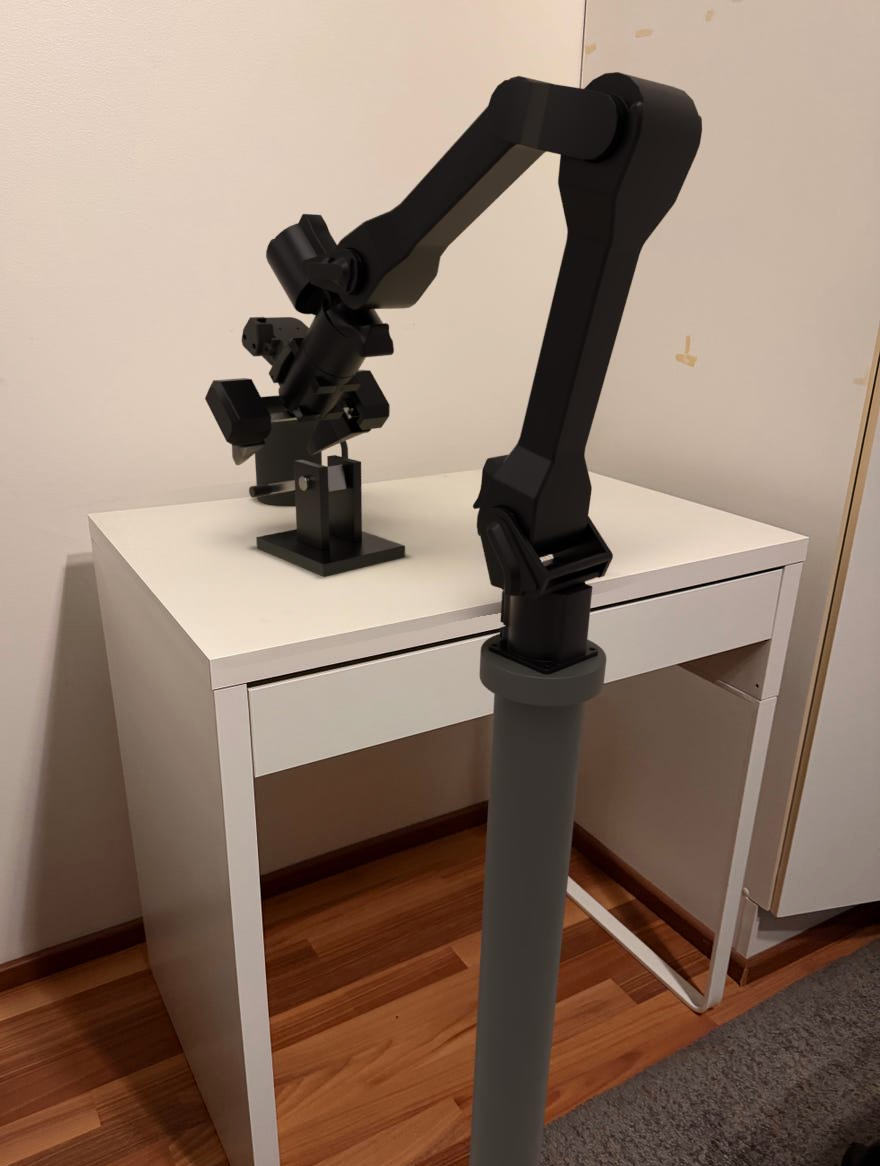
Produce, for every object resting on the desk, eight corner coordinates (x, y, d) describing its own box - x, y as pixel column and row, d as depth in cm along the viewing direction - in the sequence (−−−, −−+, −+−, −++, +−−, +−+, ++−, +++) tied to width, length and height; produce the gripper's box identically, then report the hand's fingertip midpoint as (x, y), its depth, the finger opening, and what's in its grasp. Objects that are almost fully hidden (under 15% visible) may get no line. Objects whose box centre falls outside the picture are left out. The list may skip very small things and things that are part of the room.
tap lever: (251, 503, 93) (246, 481, 93) (290, 497, 96) (286, 475, 96) (317, 494, 83) (312, 468, 83) (358, 486, 86) (354, 462, 86)
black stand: (256, 548, 90) (251, 457, 86) (335, 531, 96) (333, 446, 92) (323, 576, 81) (320, 478, 78) (405, 556, 87) (406, 464, 84)
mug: (337, 510, 105) (335, 422, 101) (246, 503, 108) (241, 417, 104) (359, 495, 112) (358, 413, 108) (273, 488, 115) (269, 408, 111)
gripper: (372, 286, 88) (313, 390, 100) (206, 286, 77) (162, 403, 89) (422, 373, 85) (356, 469, 97) (258, 386, 74) (206, 492, 86)
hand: (273, 456), depth 92 cm, fingers open, 9 cm apart
